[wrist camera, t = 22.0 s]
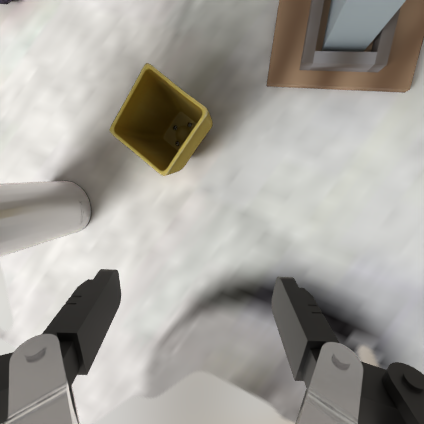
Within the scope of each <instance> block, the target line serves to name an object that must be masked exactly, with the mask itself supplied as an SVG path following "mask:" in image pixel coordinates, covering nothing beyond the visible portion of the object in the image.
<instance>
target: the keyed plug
mask: <svg viewBox="0 0 424 424" xmlns="http://www.w3.org/2000/svg"><path fill="white" fill-rule="evenodd" d="M405 1H406V0H331V3H330V8H329V14H328V19H327V25H326V30H325V35H324V41H323V46H322V51H345V52H364V51H365V49H366V48H367V47H368V46H369V44H370V43H371V42H372V41H373V40H374V38H375V37H376V36H377V35H378V34H379V32H380V31H381V30H382V29H383V28H384V26H385V25H386V24H387V23H388V22H389V20H390V19H391V18H392V17H393V15H394V14H395V13H396V12H397V11H398V9H399V8H400V7H401V6H402V5H403V3H404V2H405Z"/></svg>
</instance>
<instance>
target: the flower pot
mask: <svg viewBox="0 0 424 424" xmlns="http://www.w3.org/2000/svg"><path fill="white" fill-rule="evenodd" d="M189 123H191V124H192V126H191V127H189V126H188V124H189ZM174 126H177V129H176V130H174ZM211 127H212V119H211V116H210V114H209V112H208V110H207V108H206V107H205V106H203V105H202V104H201V103H199V102H198V101H196V100H195V99H194V98H192V97H191V96H190V95H188V94H187V93H186V92H184V91H183V90H182V89H180V88H179V87H178V86H177V85H175V84H174V83H173V82H172V81H170V80H169V79H168V78H167V77H166V76H164V75H163V74H162V73H161V72H159V71H158V70H157V69H156V68H155V67H153V66H152V65H151V64H148V63H146V64H145V65H144V67H143V69H142V70H141V72H140V74H139V76H138V78H137V80H136V81H135V83H134V85H133V87H132V89H131V91H130V93H129V94H128V96H127V98H126V100H125V102H124V104H123V105H122V107H121V109H120V111H119V112H118V114H117V116H116V118H115V120H114V121H113V123H112V125H111V128H110V132H111V134H112V135H113V136H114V137H116V138H117V139H118V140H119V141H120V142H122V143H123V144H124V145H125V146H127V147H128V148H129V149H130V150H132V151H133V152H134V153H135V154H136V155H138V156H139V157H140V158H141V159H142V160H144V161H145V162H146V163H147V164H148V165H150V166H151V167H152V168H153V169H154V170H155V171H157V172H158V173H159V174H161V175H162V176H166V175H169V174H172V173H175V172H177V171H180V170H181V169H182V168H183V167H184V166H185V165H186V163H187V162H188V160H189V159H190V157H191V156H192V154H193V153H194V151H195V150H196V149H197V147H198V146H199V144H200V143H201V141H202V140H203V139H204V137H205V136H206V134H207V133H208V132H209V130H210V129H211ZM176 142H179V145H178V146H177V145H176Z"/></svg>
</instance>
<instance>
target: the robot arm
mask: <svg viewBox="0 0 424 424" xmlns="http://www.w3.org/2000/svg"><path fill="white" fill-rule="evenodd" d="M90 216H91V206H90V202H89V199H88V197H87V195H86V193H85V192H84V190H83V189H82V188H81V187H80V186H78V185H77V184H75V183H73V182H70V181H52V182H27V183H5V184H0V257H1V256H4V255H7V254H10V253H13V252H16V251H20V250H23V249H26V248H29V247H32V246H35V245H38V244H41V243H44V242H48V241H51V240H54V239H57V238H60V237H63V236H66V235H69V234H72V233H76V232H79V231H81V230H82V229H84V228H85V227H86V226H87V224H88V222H89V219H90ZM120 301H121V289H120V281H119V273H118V271H117V270H108V269H101V270H100V271H99V272H98V273H97V275H96V276H95V278H94V279H93V280H89V279H88V280H87V281H85V282H84V283H82V284H81V285H80V286H78V287H77V289H76V290H75V291H74V293H73V294H72V295H71V297H70V298H69V299H68V301H67V302H66V304H65V305H64V306H63V307H62V308H61V310H60V311H59V312H58V314H57V315H56V316H55V318H54V319H53V320H52V322H51V323H50V324H49V326H48V327H47V328H46V330H45V331H44V332H43V333H42V334H41V335H38V336H35V337H33V338H31V339H29V340H27V341H26V342H24V343H23V344H21V345H20V346H19V347H18V348H17V349H16V350H15V351H14V352H13V353H9V354H5V355H1V356H0V424H2V423H3V424H80V422H79V417H78V412H77V407H76V402H75V397H74V392H73V387H72V383H73V381H74V379H75V377H76V376H77V375H87V374H88V372H89V370H90V368H91V365H92V363H93V361H94V359H95V357H96V355H97V353H98V350H99V348H100V346H101V344H102V342H103V340H104V338H105V335H106V333H107V331H108V329H109V327H110V325H111V323H112V320H113V318H114V316H115V314H116V312H117V310H118V308H119V305H120ZM272 312H273V315H274V318H275V321H276V325H277V328H278V331H279V334H280V337H281V340H282V343H283V346H284V349H285V352H286V355H287V358H288V361H289V364H290V368H291V371H292V374H293V377H294V380H295V381H304V382H305V385H306V388H307V389H306V392H305V395H304V398H303V401H302V404H301V407H300V410H299V413H298V417H297V420H296V423H295V424H424V375H423V374H422V373H421V372H419V371H418V370H416V369H415V368H413V367H411V366H409V365H406V364H403V363H398V362H395V363H392V364H390V365H389V367H388V369H387V370H385V369H382V368H379V367H376V366H373V365H370V364H367V363H364V362H361V361H360V359H359V358H358V357H357V355H356V354H355V353H354V352H353V351H351V350H350V349H349V348H347V347H346V346H344V345H342V344H340V343H339V341H338V340H337V338H336V336H335V334H334V333H333V331H332V329H331V327H330V326H329V324H328V322H327V321H326V319H325V317H324V315H323V314H322V312H321V310H320V308H319V307H318V306H317V303H316V301H315V300H314V298H313V296H312V295H311V294H310V293H309V292H308V291H306V290H305V289H304V288H299V287H298V285H297V283H296V281H295V279H294V278H293V277H277V279H276V283H275V287H274V292H273V297H272Z"/></svg>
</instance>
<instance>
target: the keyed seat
mask: <svg viewBox="0 0 424 424" xmlns="http://www.w3.org/2000/svg"><path fill="white" fill-rule="evenodd" d="M330 3H331V0H279V6H278V12H277V19H276V26H275V32H274V39H273V46H272V52H271V59H270V66H269V73H268V79H267V86H272V87H294V88H317V89H339V90H362V91H384V92H406V91H408V90H410V87H411V83H412V79H413V75H414V72H415V68H416V64H417V60H418V57H419V53H420V49H421V45H422V42H423V38H424V0H406V1H405V2H404V3H403V5H402V6H401V7H400V8H399V9H398V11H397V12H396V13H395V14H394V15H393V17H392V18H391V19H390V20H389V22H388V23H387V24H386V25H385V26H384V28H383V29H382V30H381V31H380V32H379V34H378V35H377V36H376V37H375V38H374V40H373V41H372V42H371V43H370V44H369V46H368V47H367V48H366V49H365V51H364V52H345V51H322V46H323V41H324V35H325V30H326V25H327V19H328V14H329V8H330Z"/></svg>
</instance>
